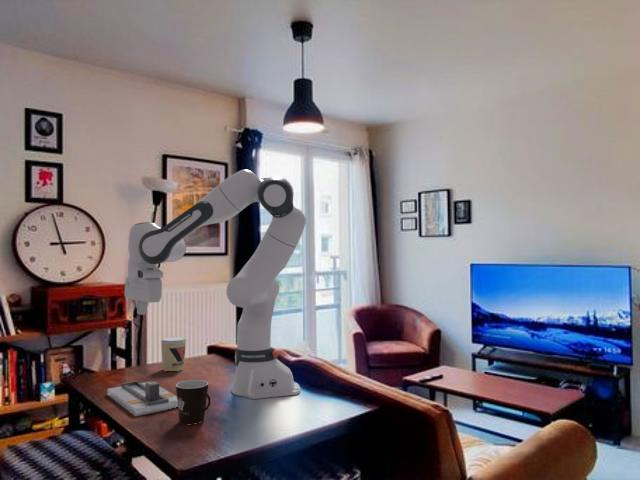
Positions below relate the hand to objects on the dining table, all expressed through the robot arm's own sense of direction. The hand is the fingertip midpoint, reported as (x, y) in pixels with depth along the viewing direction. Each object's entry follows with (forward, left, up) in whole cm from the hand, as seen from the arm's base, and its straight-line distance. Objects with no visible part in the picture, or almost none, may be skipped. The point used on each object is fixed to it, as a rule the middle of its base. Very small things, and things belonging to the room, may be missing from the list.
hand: (141, 314), depth 160 cm
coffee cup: (-6, -31, -26) cm, 40 cm away
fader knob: (-6, +15, -23) cm, 28 cm away
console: (-3, +9, -25) cm, 27 cm away
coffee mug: (-19, +31, -26) cm, 45 cm away
